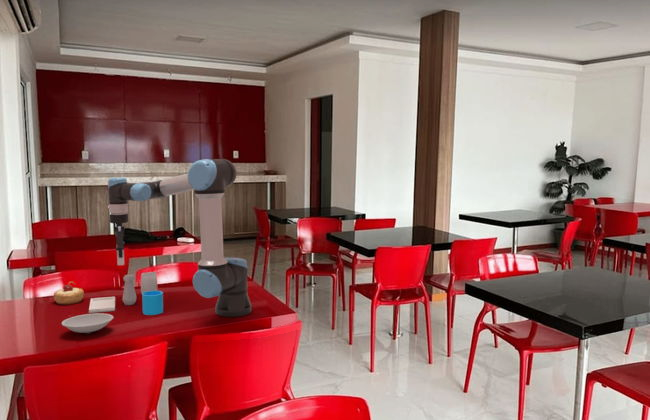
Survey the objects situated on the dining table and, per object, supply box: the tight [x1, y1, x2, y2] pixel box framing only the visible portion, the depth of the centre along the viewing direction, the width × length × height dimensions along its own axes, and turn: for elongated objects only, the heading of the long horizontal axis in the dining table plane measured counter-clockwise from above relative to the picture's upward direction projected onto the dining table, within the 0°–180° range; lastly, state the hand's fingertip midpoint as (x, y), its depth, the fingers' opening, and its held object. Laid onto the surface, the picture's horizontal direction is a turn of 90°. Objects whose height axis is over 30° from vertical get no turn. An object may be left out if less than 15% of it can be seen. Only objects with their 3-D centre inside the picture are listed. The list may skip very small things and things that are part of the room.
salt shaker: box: [122, 274, 137, 306], centre depth 231 cm, size 6×6×13 cm
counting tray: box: [88, 296, 116, 314], centre depth 227 cm, size 17×10×2 cm, turn 21°
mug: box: [141, 290, 164, 316], centre depth 222 cm, size 12×8×8 cm
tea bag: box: [140, 271, 158, 295], centre depth 248 cm, size 4×7×10 cm, turn 120°
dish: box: [61, 312, 114, 334], centre depth 195 cm, size 18×14×5 cm
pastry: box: [53, 281, 85, 306], centre depth 233 cm, size 12×12×9 cm
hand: (120, 261), depth 229 cm, fingers open, 13 cm apart
